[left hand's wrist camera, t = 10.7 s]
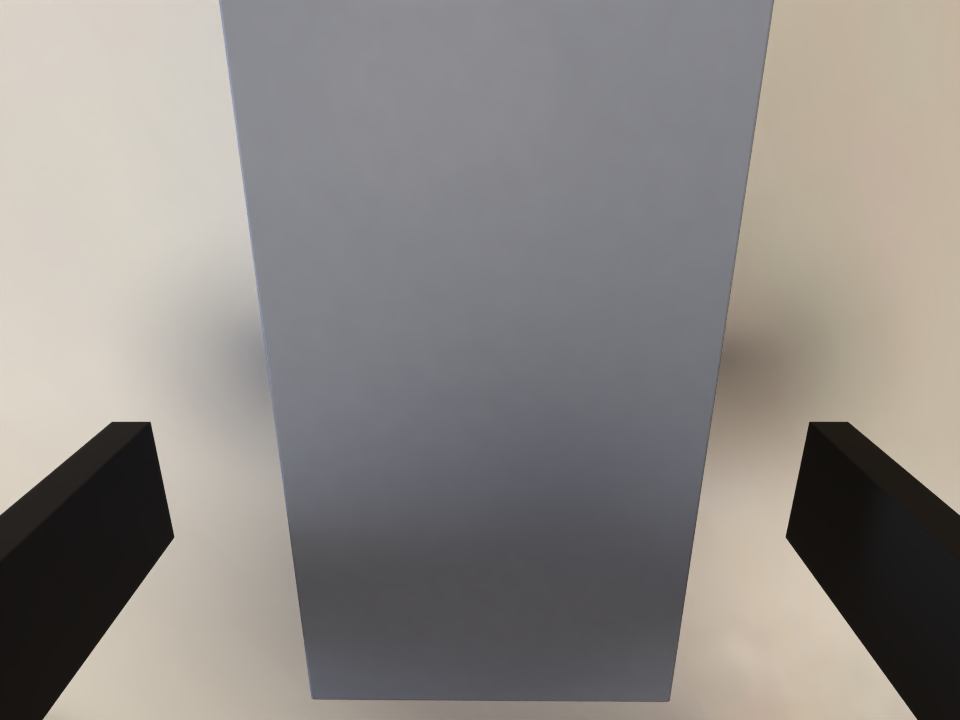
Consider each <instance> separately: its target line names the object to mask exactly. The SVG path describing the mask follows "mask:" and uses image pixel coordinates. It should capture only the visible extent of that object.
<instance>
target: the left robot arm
mask: <svg viewBox="0 0 960 720" xmlns="http://www.w3.org/2000/svg"><path fill="white" fill-rule="evenodd" d="M173 538H174V533H173V528H172V524H171V519H170V514H169V509H168V504H167V499H166V495H165V490H164V485H163V480H162V475H161V470H160V465H159V461H158V456H157V451H156V446H155V441H154V436H153V432H152V427H151V422H111V423H110V424H109V425H108V426H107V427H105V428H104V429H103V430H102V431H101V432H99V433H98V434H97V435H96V436H95V437H93V438H92V439H91V440H90V441H89V442H87V443H86V444H85V445H84V446H83V447H81V448H80V449H79V450H78V451H77V452H75V453H74V454H73V455H72V456H71V457H69V458H68V459H67V460H66V461H65V462H64V463H62V464H61V465H60V466H59V467H58V468H56V469H55V470H54V471H53V472H52V473H50V474H49V475H48V476H47V477H46V478H44V479H43V480H42V481H41V482H40V483H38V484H37V485H36V486H35V487H34V488H32V489H31V490H30V491H29V492H28V493H26V494H25V495H24V496H23V497H22V498H20V499H19V500H18V501H17V502H16V503H14V504H13V505H12V506H11V507H10V508H9V509H7V510H6V511H5V512H4V513H3V514H1V515H0V720H43V718H44V717H45V716H46V714H47V713H48V711H49V710H50V709H51V707H52V706H53V705H54V703H55V702H56V700H57V699H58V698H59V696H60V695H61V693H62V692H63V691H64V689H65V688H66V687H67V685H68V684H69V682H70V681H71V680H72V678H73V677H74V675H75V674H76V673H77V671H78V670H79V669H80V667H81V666H82V664H83V663H84V662H85V660H86V659H87V657H88V656H89V655H90V653H91V652H92V651H93V649H94V648H95V646H96V645H97V644H98V642H99V641H100V639H101V638H102V637H103V635H104V634H105V633H106V631H107V630H108V628H109V627H110V626H111V624H112V623H113V621H114V620H115V619H116V617H117V616H118V615H119V613H120V612H121V610H122V609H123V608H124V606H125V605H126V603H127V602H128V601H129V599H130V598H131V597H132V595H133V594H134V592H135V591H136V590H137V588H138V587H139V586H140V584H141V583H142V581H143V580H144V579H145V577H146V576H147V574H148V573H149V572H150V570H151V569H152V568H153V566H154V565H155V563H156V562H157V561H158V559H159V558H160V556H161V555H162V554H163V552H164V551H165V550H166V548H167V547H168V545H169V544H170V543H171V541H172V540H173ZM786 538H787V540H788V541H789V543H790V544H791V545H792V547H793V548H794V550H795V551H796V552H797V554H798V555H799V556H800V558H801V559H802V561H803V562H804V563H805V565H806V566H807V568H808V569H809V570H810V572H811V573H812V574H813V576H814V577H815V579H816V580H817V581H818V583H819V584H820V586H821V587H822V588H823V590H824V591H825V592H826V594H827V595H828V597H829V598H830V599H831V601H832V602H833V603H834V605H835V606H836V608H837V609H838V610H839V612H840V613H841V615H842V616H843V617H844V619H845V620H846V621H847V623H848V624H849V626H850V627H851V628H852V630H853V631H854V633H855V634H856V635H857V637H858V638H859V639H860V641H861V642H862V644H863V645H864V646H865V648H866V649H867V651H868V652H869V653H870V655H871V656H872V657H873V659H874V660H875V662H876V663H877V664H878V666H879V667H880V669H881V670H882V671H883V673H884V674H885V675H886V677H887V678H888V680H889V681H890V682H891V684H892V685H893V687H894V688H895V689H896V691H897V692H898V693H899V695H900V696H901V698H902V699H903V700H904V702H905V703H906V705H907V706H908V707H909V709H910V710H911V711H912V713H913V714H914V716H915V717H916V718H917V720H960V515H959V514H957V513H956V512H955V511H954V510H953V509H951V508H950V507H949V506H948V505H947V504H946V503H944V502H943V501H942V500H941V499H940V498H938V497H937V496H936V495H935V494H934V493H932V492H931V491H930V490H929V489H928V488H926V487H925V486H924V485H923V484H922V483H920V482H919V481H918V480H917V479H916V478H914V477H913V476H912V475H911V474H910V473H908V472H907V471H906V470H905V469H904V468H902V467H901V466H900V465H899V464H898V463H896V462H895V461H894V460H893V459H892V458H891V457H889V456H888V455H887V454H886V453H885V452H883V451H882V450H881V449H880V448H879V447H877V446H876V445H875V444H874V443H873V442H871V441H870V440H869V439H868V438H867V437H865V436H864V435H863V434H862V433H861V432H859V431H858V430H857V429H856V428H855V427H853V426H852V425H851V424H850V423H849V422H809V427H808V432H807V436H806V441H805V446H804V451H803V456H802V461H801V465H800V470H799V475H798V480H797V485H796V490H795V495H794V499H793V504H792V509H791V514H790V519H789V524H788V528H787V533H786Z"/></svg>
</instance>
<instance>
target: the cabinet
mask: <svg viewBox="0 0 960 720" xmlns="http://www.w3.org/2000/svg"><path fill="white" fill-rule="evenodd" d="M219 3H220V11H221V19H222V26H223V34H224V41H225V49H226V56H227V64H228V71H229V79H230V86H231V94H232V101H233V109H234V117H235V124H236V132H237V139H238V147H239V154H240V162H241V169H242V177H243V184H244V192H245V200H246V207H247V215H248V222H249V230H250V237H251V245H252V252H253V260H254V267H255V275H256V282H257V290H258V298H259V305H260V313H261V320H262V328H263V335H264V343H265V350H266V358H267V365H268V373H269V380H270V388H271V396H272V403H273V411H274V418H275V426H276V433H277V441H278V448H279V456H280V463H281V471H282V479H283V486H284V494H285V501H286V509H287V516H288V524H289V531H290V539H291V546H292V554H293V561H294V569H295V577H296V584H297V592H298V599H299V607H300V614H301V622H302V629H303V637H304V644H305V652H306V659H307V667H308V675H309V682H310V690H311V697H312V699H338V700H478V701H617V702H668V701H670V695H671V688H672V681H673V674H674V668H675V661H676V654H677V648H678V641H679V634H680V628H681V621H682V614H683V607H684V601H685V594H686V587H687V581H688V574H689V567H690V560H691V554H692V547H693V540H694V534H695V527H696V520H697V514H698V507H699V500H700V493H701V487H702V480H703V473H704V467H705V460H706V453H707V446H708V440H709V433H710V426H711V420H712V413H713V406H714V400H715V393H716V386H717V379H718V373H719V366H720V359H721V353H722V346H723V339H724V332H725V326H726V319H727V312H728V306H729V299H730V292H731V286H732V279H733V272H734V265H735V259H736V252H737V245H738V239H739V232H740V225H741V218H742V212H743V205H744V198H745V192H746V185H747V178H748V172H749V165H750V158H751V151H752V145H753V138H754V131H755V125H756V118H757V111H758V105H759V98H760V91H761V84H762V78H763V71H764V64H765V58H766V51H767V44H768V37H769V31H770V24H771V17H772V11H773V4H774V0H219Z"/></svg>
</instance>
